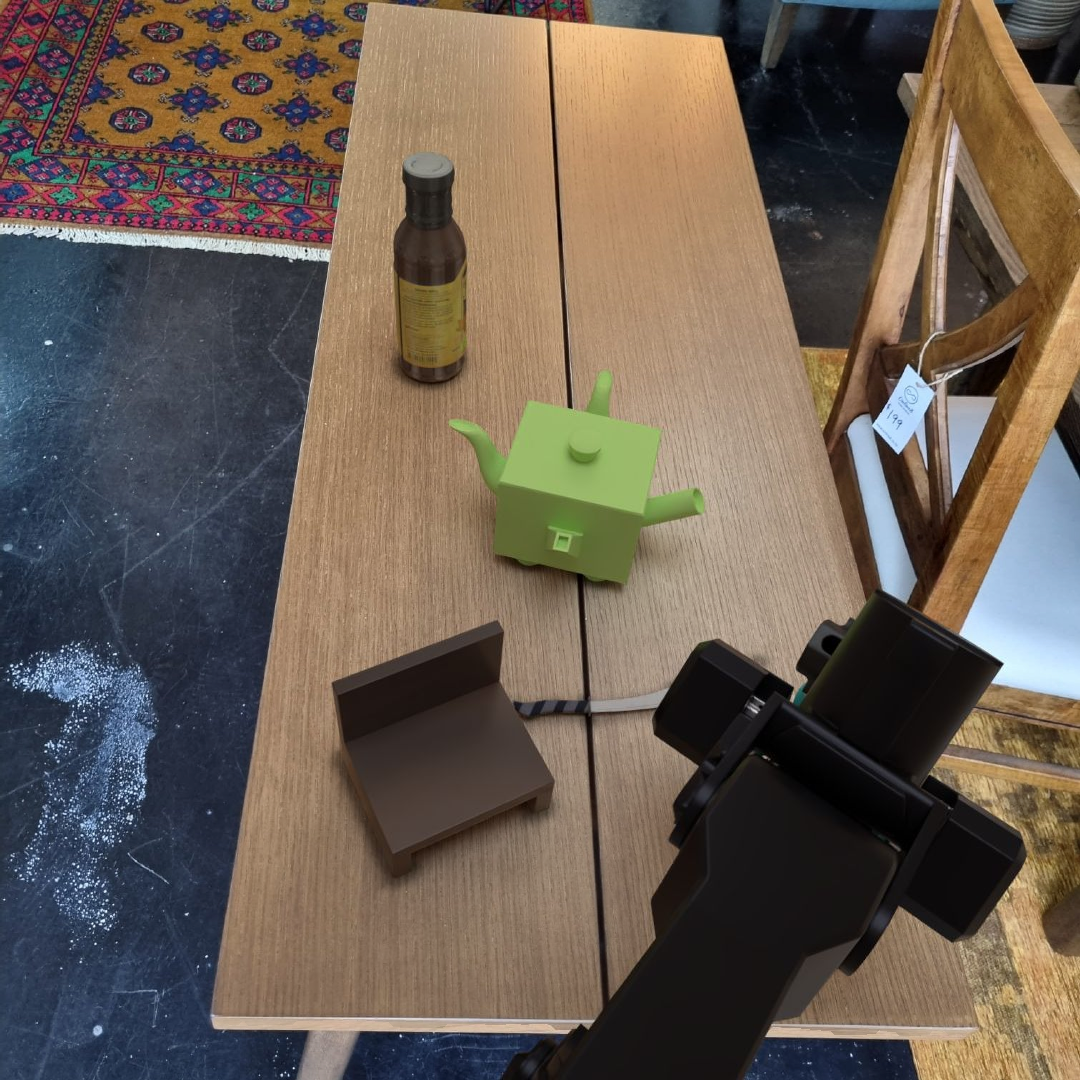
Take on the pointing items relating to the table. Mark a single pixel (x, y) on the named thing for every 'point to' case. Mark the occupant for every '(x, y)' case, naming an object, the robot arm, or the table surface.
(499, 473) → the kettle
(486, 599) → the table surface
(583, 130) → the table surface
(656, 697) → the knife
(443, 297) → the sauce bottle
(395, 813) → the brown toy chair
